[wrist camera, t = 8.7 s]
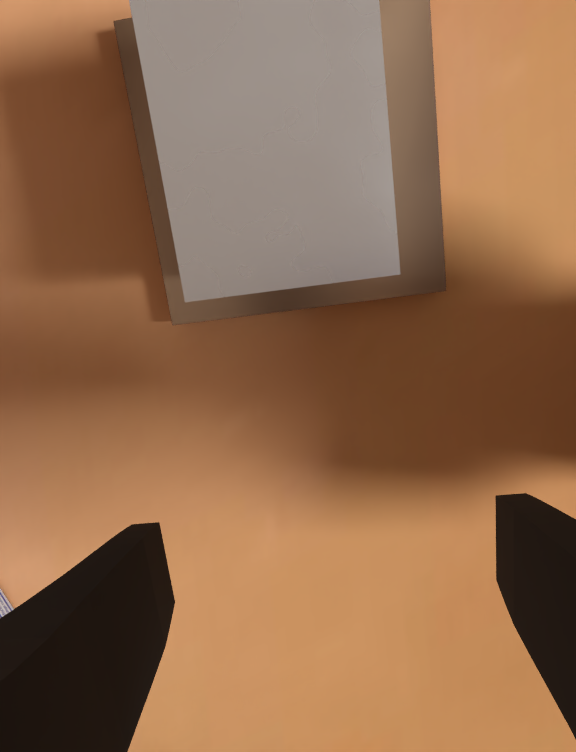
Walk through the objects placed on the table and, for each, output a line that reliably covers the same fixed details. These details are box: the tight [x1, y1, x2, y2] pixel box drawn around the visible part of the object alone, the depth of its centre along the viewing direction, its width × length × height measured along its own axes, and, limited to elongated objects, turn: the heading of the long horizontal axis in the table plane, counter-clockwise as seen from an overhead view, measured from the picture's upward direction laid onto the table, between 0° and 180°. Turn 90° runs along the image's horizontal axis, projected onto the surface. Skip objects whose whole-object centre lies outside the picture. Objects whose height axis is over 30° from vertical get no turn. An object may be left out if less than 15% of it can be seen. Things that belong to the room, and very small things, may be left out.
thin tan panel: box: [114, 0, 446, 325], centre depth 17 cm, size 10×10×4 cm
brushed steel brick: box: [129, 0, 400, 302], centre depth 15 cm, size 5×7×7 cm
